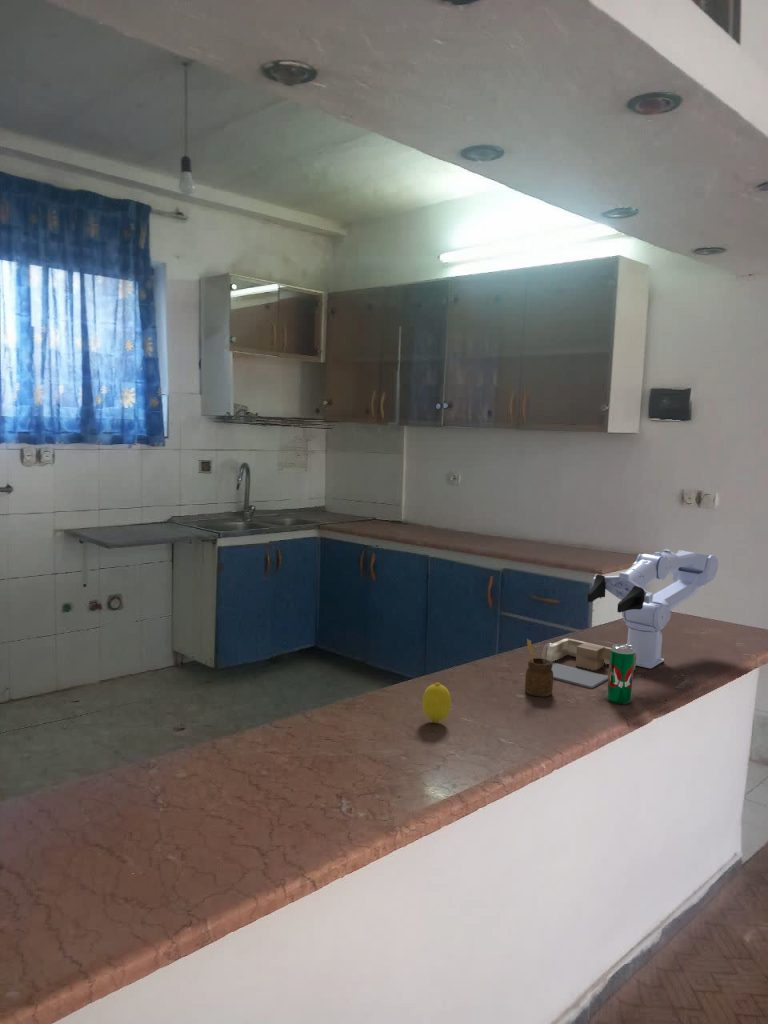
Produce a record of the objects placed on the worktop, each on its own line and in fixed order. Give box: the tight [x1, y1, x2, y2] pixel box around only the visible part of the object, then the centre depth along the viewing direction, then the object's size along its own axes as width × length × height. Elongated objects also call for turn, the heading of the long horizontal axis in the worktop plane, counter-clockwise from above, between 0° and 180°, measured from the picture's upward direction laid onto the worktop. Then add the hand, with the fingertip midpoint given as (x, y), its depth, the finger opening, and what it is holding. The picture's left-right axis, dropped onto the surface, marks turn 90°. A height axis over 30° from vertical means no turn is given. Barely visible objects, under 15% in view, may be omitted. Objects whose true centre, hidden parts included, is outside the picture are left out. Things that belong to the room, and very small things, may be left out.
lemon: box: [421, 682, 452, 724], centre depth 149 cm, size 6×6×8 cm
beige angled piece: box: [546, 637, 637, 671], centre depth 190 cm, size 10×18×4 cm, turn 51°
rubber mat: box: [552, 662, 608, 690], centre depth 182 cm, size 10×15×1 cm, turn 51°
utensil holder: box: [524, 638, 554, 698], centre depth 169 cm, size 6×6×12 cm
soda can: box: [606, 643, 635, 705], centre depth 165 cm, size 5×5×12 cm
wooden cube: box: [575, 642, 606, 671], centre depth 189 cm, size 5×5×5 cm
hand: (603, 603), depth 179 cm, fingers open, 7 cm apart
